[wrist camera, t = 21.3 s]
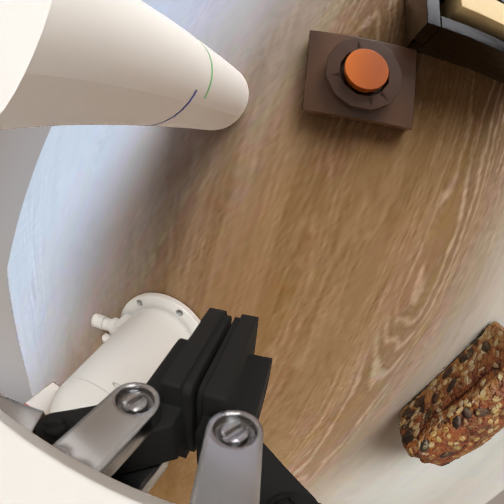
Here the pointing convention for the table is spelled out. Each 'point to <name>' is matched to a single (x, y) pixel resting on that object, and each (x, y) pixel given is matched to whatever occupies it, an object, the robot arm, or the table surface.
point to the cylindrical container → (110, 68)
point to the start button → (365, 70)
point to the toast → (477, 15)
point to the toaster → (452, 39)
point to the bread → (459, 404)
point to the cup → (43, 398)
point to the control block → (348, 99)
